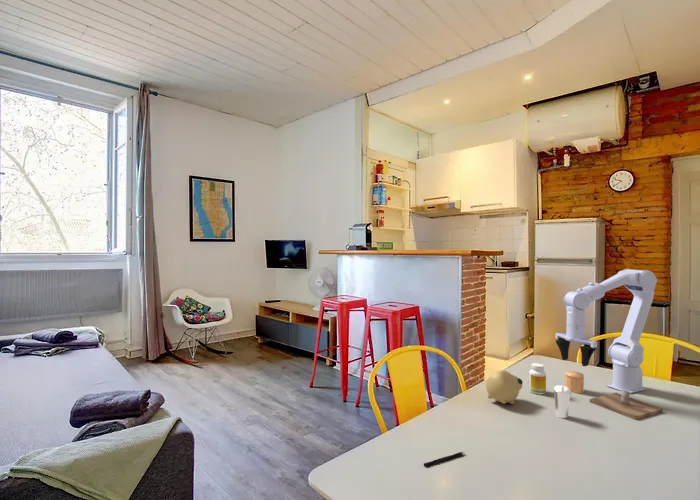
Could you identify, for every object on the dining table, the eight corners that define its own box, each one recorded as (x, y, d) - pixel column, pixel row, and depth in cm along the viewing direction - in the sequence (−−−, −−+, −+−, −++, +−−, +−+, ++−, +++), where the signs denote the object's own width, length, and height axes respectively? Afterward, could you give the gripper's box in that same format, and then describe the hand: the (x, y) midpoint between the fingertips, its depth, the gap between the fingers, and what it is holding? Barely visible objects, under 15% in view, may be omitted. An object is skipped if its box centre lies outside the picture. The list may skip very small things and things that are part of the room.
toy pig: (528, 403, 125) (528, 371, 125) (506, 411, 118) (506, 377, 118) (501, 393, 133) (502, 363, 133) (479, 400, 126) (480, 369, 126)
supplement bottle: (548, 395, 132) (549, 367, 132) (533, 394, 132) (533, 367, 132) (541, 389, 137) (541, 362, 137) (526, 388, 137) (526, 362, 137)
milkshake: (553, 418, 114) (554, 385, 114) (553, 411, 119) (553, 379, 118) (570, 421, 112) (571, 388, 112) (569, 414, 116) (570, 382, 116)
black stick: (462, 454, 94) (462, 450, 94) (465, 456, 93) (465, 452, 93) (423, 466, 89) (423, 462, 89) (425, 468, 88) (425, 464, 88)
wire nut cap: (572, 386, 140) (572, 370, 140) (586, 391, 135) (587, 375, 135) (561, 388, 138) (562, 372, 138) (576, 394, 133) (576, 377, 133)
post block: (615, 395, 132) (616, 381, 132) (662, 412, 119) (662, 396, 119) (589, 401, 126) (590, 387, 126) (635, 419, 114) (635, 403, 114)
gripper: (550, 322, 141) (549, 358, 142) (588, 330, 128) (587, 370, 128) (562, 320, 144) (562, 356, 144) (601, 328, 131) (600, 367, 131)
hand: (574, 362), depth 137 cm, fingers open, 7 cm apart
